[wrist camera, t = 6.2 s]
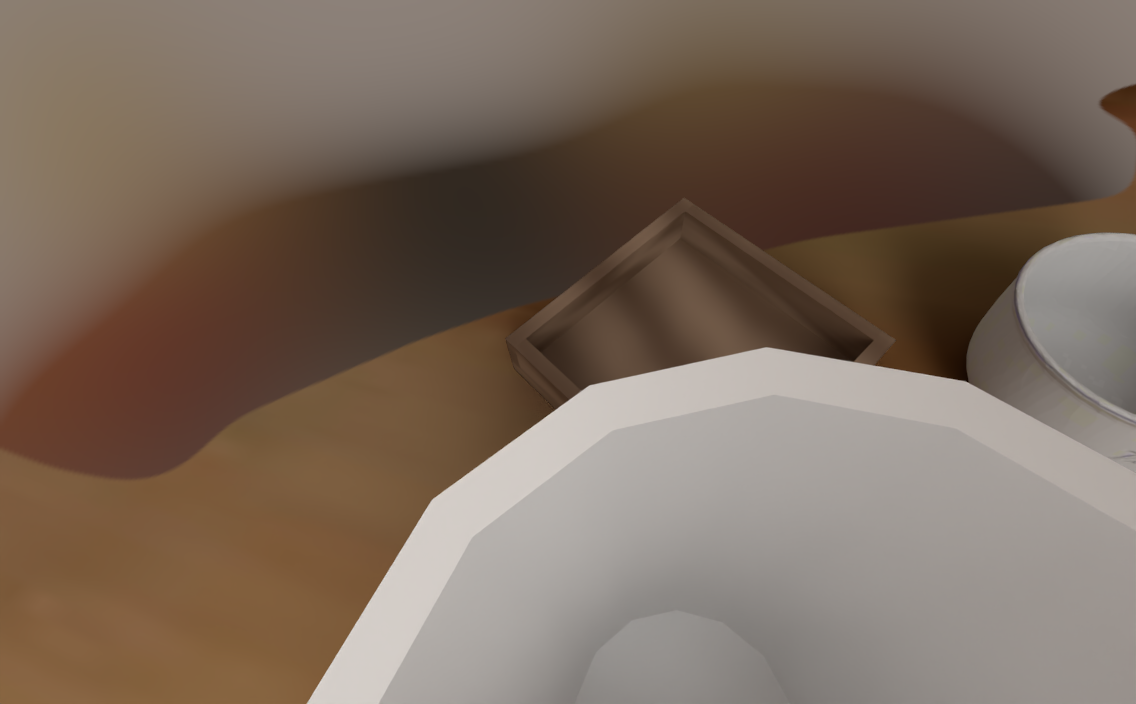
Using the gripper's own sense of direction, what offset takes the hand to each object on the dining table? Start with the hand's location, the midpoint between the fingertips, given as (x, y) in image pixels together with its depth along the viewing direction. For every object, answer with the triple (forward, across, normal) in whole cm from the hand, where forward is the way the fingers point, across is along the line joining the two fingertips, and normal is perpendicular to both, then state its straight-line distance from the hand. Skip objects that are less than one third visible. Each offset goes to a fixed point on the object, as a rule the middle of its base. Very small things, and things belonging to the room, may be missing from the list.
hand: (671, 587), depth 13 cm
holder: (+20, +5, -2) cm, 21 cm away
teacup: (+18, +26, -5) cm, 32 cm away
